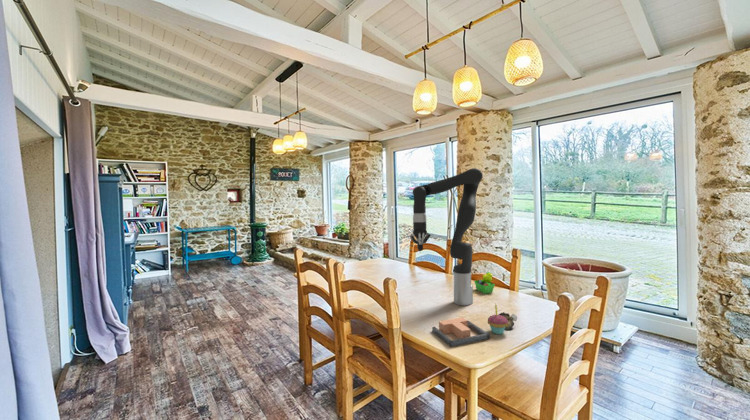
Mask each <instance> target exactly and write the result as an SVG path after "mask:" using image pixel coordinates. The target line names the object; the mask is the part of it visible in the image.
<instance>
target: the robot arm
mask: <svg viewBox="0 0 750 420" xmlns="http://www.w3.org/2000/svg"><path fill="white" fill-rule="evenodd" d="M482 180H483V172H482V170H480V169H479V168H476V167H475V168H473V167H472V168H470V169H468V170H465V171H463V172H460V173H459V174H456V175H453V176H451V177H448V178H444V179H439V180H436V181H432V182H429V183H427V184H426V183H425V184H423V185H418V186H415V187H414V188H413V189H412V196H413V206H412V207H413V209H412V210H413V212H412V213H413V214H412V229H413V231H412V234H409V236H408V237H409V238H410V239H411V241H413V244H415V245H417V251H418V252H423V250H424V244H426V243H427V241H428V240H429V239H430V237H431V234H430V233H428V231H427V214H426V211H427V210H426V207H427V206H426V200H427V199H426V198H427V197H428V196H432V195H438V194H440V193H441V194H443V193H444V192H445V193H446V192H448V191H450V190H451V189H454V188H456V187H460V186H463V190H462V196H461V200H460V202H459V206H458V211H457V216H456V223H455V228H454V232H453V236H452V240H451V243H450V247H449V255H450V257H451V259H457V260H461V263H459V264H456V265H455V264H454V266H453V304H455V305H458V306H470V305H471V304H473V303H474V299H473V298H474V286H473V285H472V267H473V246H472V244H471V243H470V242H464V241H462V239H463V237H464V235H465V233H466V232H467V230H468V229H469V228H471V226H472V225H473V223H474V221H475V217H476V210H477V202H476V201H477V200H476V198H477V196H476V195H477V192H478V188H479V185H480V183H481V181H482Z"/></svg>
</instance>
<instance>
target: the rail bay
mask: <svg viewBox="0 0 750 420" xmlns="http://www.w3.org/2000/svg"><path fill="white" fill-rule="evenodd" d="M467 327H468V328H469V329H470V330H472V331H474V332H475V333H476V334H477V335H472V336H471V337H466V338H461V339H460V338H457V339H451V338H449V336H447V334H443V333H442V332H441V331H440V330H439V328H437V327H436V326H432V328H431V331H432V333H434V334H435V335H436V336H437V337H438V338H440V340H442V341H443V342H444V343H445V344H446V345H448V346H449V347H451V348H453V347H458V346H462V345H463V346H464V345H467V344H473V343H477V342H481V341H487V340H490V338H491V337H490V336H491V335H490V333H488V332H487V331H485V330H483V328H481V327H479V326H478V325H476V324H474V323H473V322H471V321H469V320H467Z"/></svg>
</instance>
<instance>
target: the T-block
mask: <svg viewBox="0 0 750 420" xmlns="http://www.w3.org/2000/svg"><path fill="white" fill-rule="evenodd" d="M467 321H468V320H467V319H466V318H464V317H461V316H460V317H457V318H452V319H451V318H450V319H446V320H445V319H444V320H440V321H438V330H440V331H441V332H442V333H443V334H445V335H447V334H450V333H452V334H453V335H455V336H456V337H457V339H461V338H466V337H471V328H469V327H468V326H467Z"/></svg>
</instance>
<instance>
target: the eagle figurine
mask: <svg viewBox="0 0 750 420" xmlns="http://www.w3.org/2000/svg"><path fill="white" fill-rule="evenodd" d="M497 315H501V316H503V317H505V318H506V319H507V320H508V323H509V324H508V326H507V327H505V329H504V331H511V330H512V329H513V327H514V326H515V322H517V320H518V315H516V314H514V313H512V314H511V315H510V313H508V312H507V313H506V312H505V311H503V312H500V313H499V314H498V313H497Z"/></svg>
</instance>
